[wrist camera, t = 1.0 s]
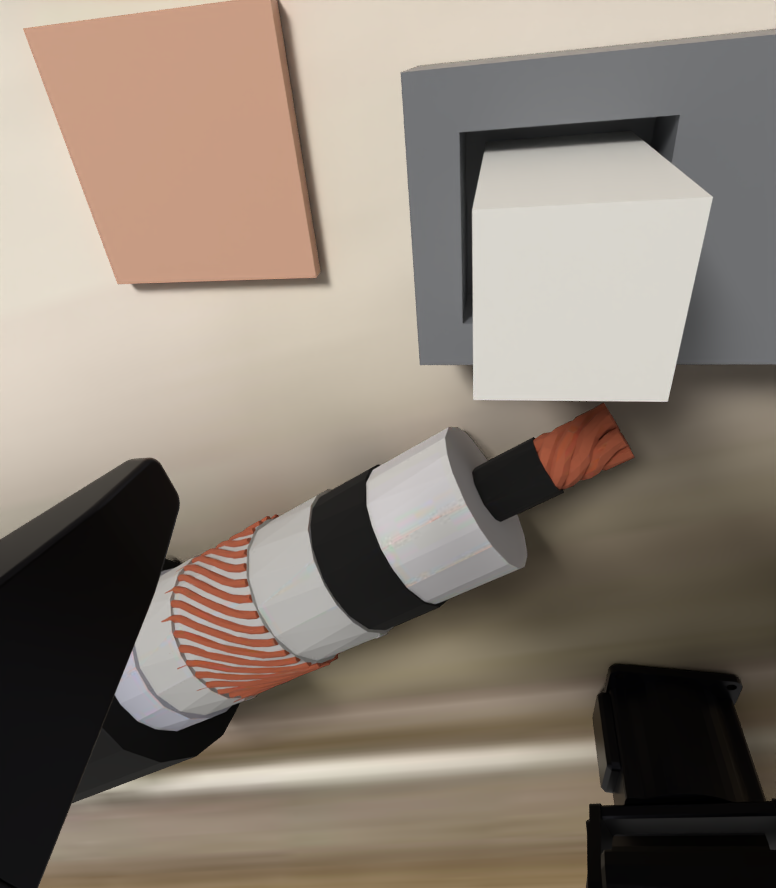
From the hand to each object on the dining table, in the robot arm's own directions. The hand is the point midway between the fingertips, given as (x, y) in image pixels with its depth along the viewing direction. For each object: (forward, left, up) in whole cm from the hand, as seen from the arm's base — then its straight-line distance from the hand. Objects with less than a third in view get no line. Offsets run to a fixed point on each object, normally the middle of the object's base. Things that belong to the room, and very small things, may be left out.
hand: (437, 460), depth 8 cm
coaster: (+10, -2, -13) cm, 17 cm away
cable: (+10, +16, -14) cm, 23 cm away
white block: (-2, 0, -12) cm, 13 cm away
